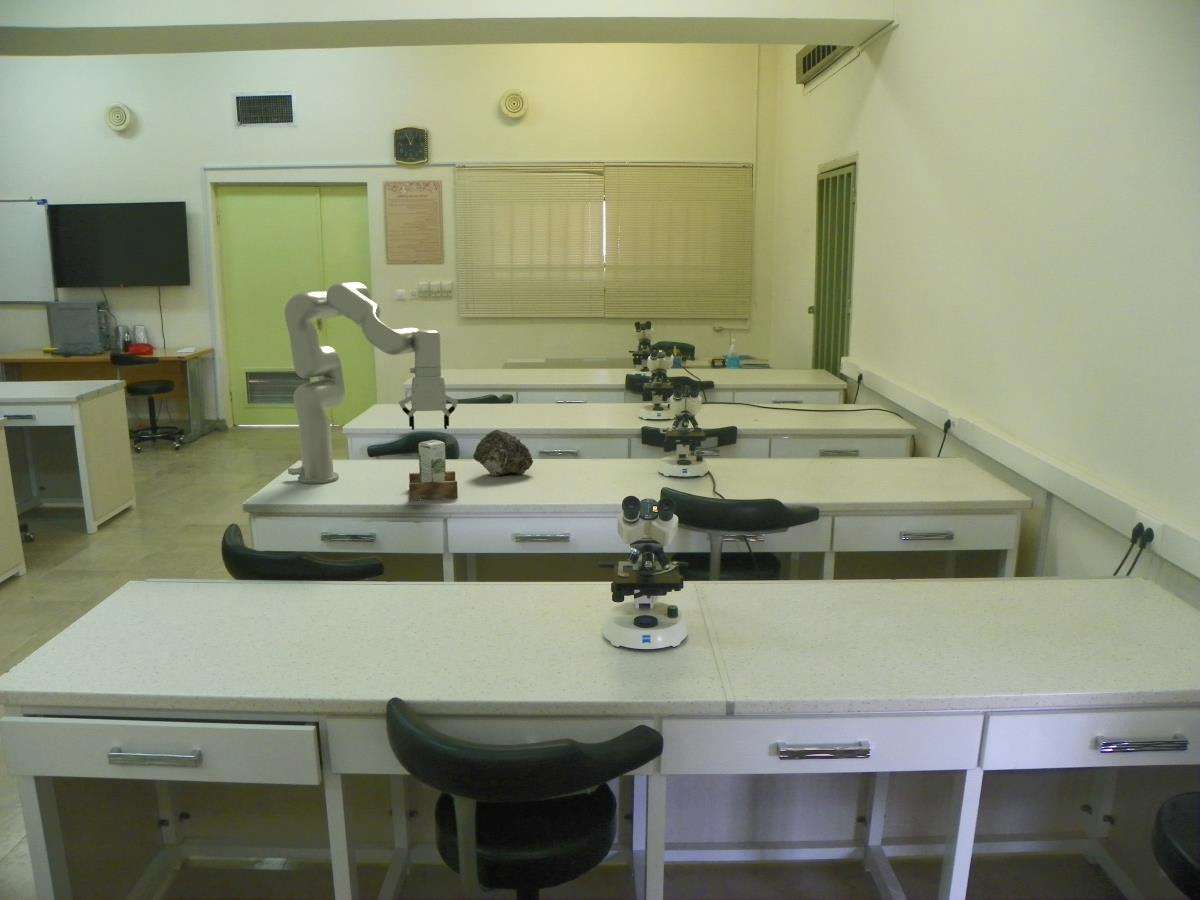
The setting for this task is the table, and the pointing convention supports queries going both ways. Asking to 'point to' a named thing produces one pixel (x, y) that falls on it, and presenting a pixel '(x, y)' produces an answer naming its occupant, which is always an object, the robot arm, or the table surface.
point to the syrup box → (432, 461)
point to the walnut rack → (432, 487)
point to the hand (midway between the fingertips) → (429, 428)
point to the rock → (503, 454)
